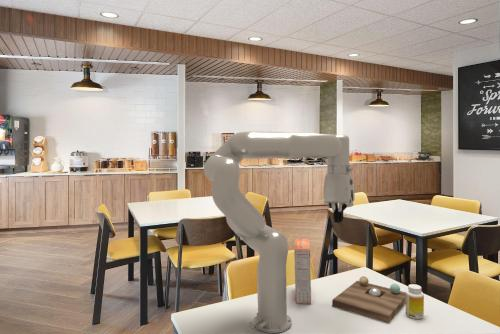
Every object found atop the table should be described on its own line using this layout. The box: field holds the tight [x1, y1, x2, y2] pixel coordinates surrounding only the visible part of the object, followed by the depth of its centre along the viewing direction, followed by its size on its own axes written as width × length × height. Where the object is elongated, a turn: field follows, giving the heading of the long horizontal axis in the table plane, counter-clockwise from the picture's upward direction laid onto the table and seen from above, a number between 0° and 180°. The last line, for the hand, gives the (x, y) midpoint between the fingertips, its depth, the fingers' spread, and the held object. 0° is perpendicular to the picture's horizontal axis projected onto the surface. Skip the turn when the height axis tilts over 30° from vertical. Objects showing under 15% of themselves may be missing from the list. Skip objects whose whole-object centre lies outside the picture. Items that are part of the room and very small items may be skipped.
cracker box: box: [293, 238, 312, 305], centre depth 137 cm, size 14×6×21 cm, turn 172°
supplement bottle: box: [405, 283, 425, 320], centre depth 120 cm, size 6×6×10 cm
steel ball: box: [369, 288, 381, 297], centre depth 133 cm, size 4×4×4 cm
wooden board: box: [331, 280, 406, 324], centre depth 131 cm, size 22×20×2 cm
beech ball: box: [358, 275, 370, 286], centre depth 141 cm, size 4×4×4 cm
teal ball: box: [389, 283, 401, 293], centre depth 133 cm, size 4×4×4 cm
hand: (338, 221), depth 126 cm, fingers closed
